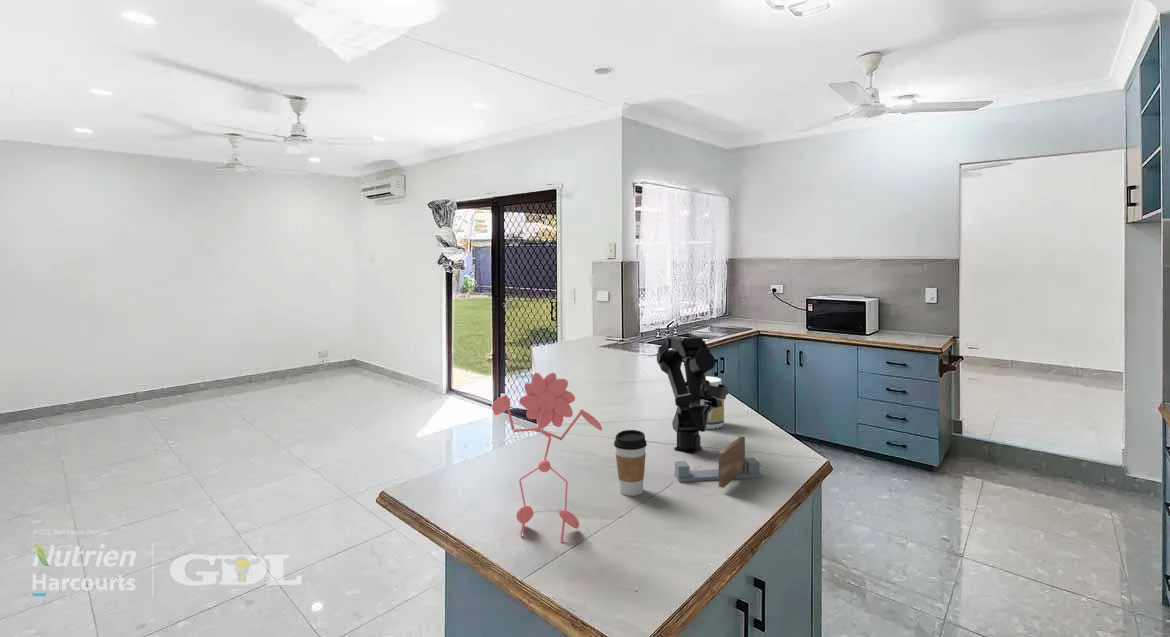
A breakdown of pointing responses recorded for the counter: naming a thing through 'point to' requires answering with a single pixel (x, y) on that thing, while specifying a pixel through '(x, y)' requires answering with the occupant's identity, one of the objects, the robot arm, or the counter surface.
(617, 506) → the counter surface
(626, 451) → the coffee cup
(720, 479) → the gate leaf
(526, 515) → the figurine
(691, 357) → the robot arm
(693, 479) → the gate frame
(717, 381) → the supplement tub
